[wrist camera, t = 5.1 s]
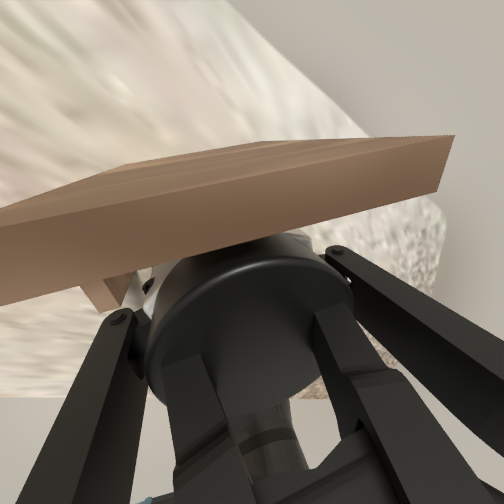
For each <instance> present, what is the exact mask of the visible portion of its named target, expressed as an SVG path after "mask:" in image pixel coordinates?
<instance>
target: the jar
mask: <svg viewBox="0 0 504 504" xmlns="http://www.w3.org/2000/svg"><path fill="white" fill-rule="evenodd" d="M153 277H155V279H154V283H153V285H152V287H151V288H149V289H148V292H147V294H146V297H145V301H144V304H143V311H144V312H145V313H146V314H147V316H148V317H149V318H150V319H151V325H150V330H149V335H148V340H147V346H146V351H145V357H144V369H145V376H146V380H147V382H148V385H149V387H150V389H151V390H152V392H153V394H154V395H155V396H156V397H157V398H158V399H159V401H161V402H162V403H163V404H164V405H166V406H167V404H166V398H165V393H164V387H163V381H162V375H161V369H160V367H163V366H166V365H169V364H172V363H175V362H177V361H180V360H183V359H186V358H189V357H191V356H194V355H197V354H200V355H201V357H202V359H203V362H204V364H205V366H206V368H207V371H208V373H209V375H210V378H211V380H212V382H213V384H214V387H215V389H216V391H217V394H218V396H219V399H220V401H221V404H222V406H223V409H224V411H225V414H226V416H227V418H230V417H237V416H242V415H246V414H251V413H254V412H257V411H260V410H263V409H266V408H269V407H271V406H274V405H276V404H278V403H280V402H282V401H284V400H286V399H288V398H290V397H292V396H293V395H295V394H297V393H298V392H300V391H301V390H303V389H304V388H306V387H307V386H309V385H310V384H311V383H313V382H314V381H315V380H316V379H317V378H319V377H320V376H321V373H320V370H319V367H318V364H317V362H316V359H315V356H314V313H315V312H318V311H321V310H323V309H326V308H329V307H332V306H335V305H337V304H340V303H343V302H344V303H345V305H346V306H347V308H348V309H349V311H350V312H351V314H352V315H353V317H354V318H355V314H356V307H355V300H354V296H353V292H352V290H351V288H350V286H349V284H348V283H347V281H346V280H345V279H344V277H343V276H342V275H341V274H340V273H339V272H338V271H336V270H335V269H334V268H333V267H331V266H330V265H329V264H328V263H326V262H325V261H324V260H323V259H322V258H320V257H319V256H318V255H317V254H315V253H314V252H313V249H312V242H311V238H310V236H309V235H307V234H306V233H304V232H303V231H302V230H300V229H299V228H297V229H293V230H289V231H285V232H281V233H278V234H274V235H270V236H266V237H262V238H259V239H255V240H251V241H247V242H243V243H240V244H236V245H232V246H228V247H224V248H221V249H217V250H213V251H209V252H205V253H202V254H198V255H194V256H190V257H186V258H183V259H179V260H175V261H171V262H167V263H164V264H160V265H156V266H153V270H152V274H151V278H153ZM151 278H150V279H151ZM151 315H152V316H151Z"/></svg>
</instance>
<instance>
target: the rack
mask: <svg viewBox="0 0 504 504" xmlns="http://www.w3.org/2000/svg"><path fill="white" fill-rule="evenodd" d="M454 137H455V135H443V136H413V137H384V138H351V139H320V140H290V141H261V142H255V143H249V144H243V145H237V146H231V147H225V148H220V149H214V150H208V151H202V152H196V153H190V154H184V155H179V156H173V157H167V158H161V159H155V160H149V161H143V162H138V163H132V164H126V165H122V166H120V167H117V168H114V169H111V170H108V171H105V172H102V173H100V174H97V175H94V176H91V177H88V178H85V179H83V180H80V181H77V182H74V183H71V184H68V185H65V186H63V187H60V188H57V189H54V190H51V191H48V192H45V193H43V194H40V195H37V196H34V197H31V198H28V199H25V200H23V201H20V202H17V203H14V204H11V205H8V206H5V207H3V208H0V306H4V305H8V304H12V303H15V302H19V301H23V300H27V299H31V298H34V297H38V296H42V295H46V294H50V293H53V292H57V291H61V290H65V289H69V288H72V287H76V286H80V287H81V289H82V290H83V291H84V293H85V294H86V295H87V297H88V298H89V299H90V301H91V302H92V303H93V305H94V306H95V307H96V309H97V310H98V311H99V313H102V312H106V311H109V310H113V309H116V308H120V307H121V305H122V302H123V299H124V297H125V294H126V292H127V289H128V287H129V284H130V281H131V279H132V276H133V274H134V271H137V270H141V269H145V268H148V267H152V266H156V265H160V264H164V263H167V262H171V261H175V260H179V259H183V258H186V257H190V256H194V255H198V254H202V253H205V252H209V251H213V250H217V249H221V248H224V247H228V246H232V245H236V244H240V243H243V242H247V241H251V240H255V239H259V238H262V237H266V236H270V235H274V234H278V233H281V232H285V231H289V230H293V229H297V228H300V227H304V226H308V225H312V224H316V223H320V222H323V221H327V220H331V219H335V218H339V217H342V216H346V215H350V214H354V213H358V212H361V211H365V210H369V209H373V208H377V207H380V206H384V205H388V204H392V203H396V202H399V201H403V200H407V199H411V198H415V197H418V196H422V195H426V194H429V193H434V192H437V189H438V186H439V183H440V179H441V176H442V174H443V171H444V167H445V164H446V161H447V158H448V155H449V152H450V149H451V146H452V143H453V140H454Z"/></svg>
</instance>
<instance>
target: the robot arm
mask: <svg viewBox="0 0 504 504" xmlns="http://www.w3.org/2000/svg"><path fill="white" fill-rule="evenodd" d="M318 256H319V257H320V258H322V259H323V260H324V261H325V262H326V263H328V264H329V265H330V266H331V267H333V268H334V269H335V270H336V271H338V272H339V273H340V274H341V275H342V276H343V277H344V279H345V280H346V281H347V283H348V284H349V286H350V288H351V290H352V292H353V296H354V300H355V307H356V314H355V318H354V317H353V315H352V314H351V312H350V311H349V309H348V308H347V306H346V305H345V303H344V302H343V303H340V304H337V305H335V306H332V307H329V308H326V309H323V310H321V311H318V312H315V313H314V356H315V359H316V362H317V364H318V367H319V370H320V373H321V375H322V378H323V381H324V384H325V387H326V389H327V392H328V395H329V398H330V400H331V403H332V406H333V409H334V412H335V415H336V418H337V423H338V429H339V433H340V437H341V441H340V442H339V444H338V445H337V446H336V447H335V448H334V449H333V451H332V452H331V453H330V454H329V455H328V456H327V457H326V458H325V459H324V461H323V462H322V463H321V464H320V465H319V466H318V467H317V468H315V469H309V467H308V465H307V462H306V459H305V457H304V454H303V452H302V449H301V447H300V444H299V442H298V439H297V437H296V434H295V431H294V429H293V425H292V419H291V412H290V403H289V398H288V399H286V400H284V401H282V402H280V403H278V404H276V405H274V406H271V407H269V408H266V409H263V410H260V411H257V412H254V413H251V414H246V415H242V416H237V417H230V418H227V416H226V414H225V411H224V409H223V406H222V404H221V401H220V399H219V396H218V394H217V391H216V389H215V387H214V384H213V382H212V380H211V378H210V375H209V373H208V371H207V368H206V366H205V364H204V362H203V359H202V357H201V355H200V354H197V355H194V356H191V357H189V358H186V359H183V360H180V361H177V362H175V363H172V364H169V365H166V366H163V367H160V369H161V375H162V381H163V387H164V393H165V398H166V404H167V410H168V416H169V422H170V428H171V434H172V440H173V446H174V451H175V458H176V466H175V468H174V471H173V486H174V492H172V493H169V494H165V495H162V496H158V497H155V498H152V497H148V498H146V499H145V501H143V502H140V503H137V504H504V493H502V492H501V491H499V490H497V489H496V488H494V487H492V486H490V485H489V484H487V483H485V482H484V481H482V480H480V479H479V478H478V477H477V476H476V474H475V473H474V472H473V470H472V469H471V467H470V466H469V465H468V464H467V462H466V461H465V459H464V458H463V456H462V455H461V453H460V452H459V451H458V449H457V448H456V447H455V445H454V444H453V442H452V441H451V440H450V438H449V437H448V435H447V434H446V432H445V431H444V430H443V428H442V427H441V425H440V424H439V423H438V421H437V420H436V418H435V417H434V416H433V414H432V413H431V411H430V410H429V409H428V407H427V406H426V405H425V403H424V402H423V400H422V399H421V398H420V396H419V395H418V393H417V392H416V391H415V389H414V388H413V386H412V385H411V383H410V382H409V381H408V380H407V378H406V377H405V376H404V375H403V374H402V373H401V372H400V371H398V370H397V369H392V368H389V367H387V366H386V364H385V363H384V362H383V360H382V359H381V357H380V356H379V354H378V353H377V351H376V350H375V348H374V347H373V345H372V344H371V342H370V341H369V339H368V338H367V336H366V335H365V333H364V332H363V330H362V329H361V327H360V326H359V324H358V323H357V321H358V322H359V323H360V324H361V325H362V326H363V327H364V328H365V329H366V330H367V331H368V332H369V333H370V334H371V335H372V336H373V337H374V338H375V339H376V340H377V341H378V342H379V343H380V344H381V345H383V346H384V347H385V348H386V349H387V350H388V351H389V352H390V353H391V354H392V355H393V356H394V357H395V358H396V359H397V360H398V361H399V362H400V363H401V364H402V365H403V366H404V367H405V368H406V369H407V370H408V371H409V372H410V373H411V374H412V375H413V376H414V377H415V378H416V379H417V380H419V382H421V384H423V385H424V386H425V387H426V388H427V389H428V390H429V391H430V392H431V393H432V394H433V395H434V396H435V397H436V398H437V399H438V400H439V401H440V402H441V403H442V404H443V405H444V406H445V407H446V408H447V409H448V410H449V411H450V412H451V413H452V414H453V415H454V416H455V417H457V418H458V419H459V420H460V421H461V422H462V423H463V424H464V425H465V426H466V427H468V428H469V429H470V430H471V431H472V432H473V433H474V434H475V435H476V436H478V437H479V438H480V439H481V440H482V441H484V442H485V443H486V444H487V445H488V446H490V447H491V448H492V449H494V450H495V451H496V452H497V453H499V454H500V455H501V456H502V457H504V341H503V340H501V339H499V338H497V337H496V336H494V335H493V334H491V333H489V332H488V331H486V330H484V329H482V328H481V327H479V326H477V325H476V324H474V323H472V322H471V321H469V320H467V319H466V318H464V317H462V316H460V315H459V314H457V313H456V312H454V311H452V310H451V309H449V308H447V307H445V306H444V305H442V304H441V303H439V302H437V301H435V300H434V299H432V298H431V297H429V296H427V295H425V294H424V293H422V292H420V291H419V290H417V289H415V288H414V287H412V286H410V285H409V284H407V283H405V282H404V281H402V280H400V279H399V278H397V277H395V276H394V275H392V274H390V273H389V272H387V271H385V270H384V269H382V268H380V267H378V266H377V265H375V264H373V263H372V262H370V261H368V260H367V259H365V258H363V257H362V256H360V255H358V254H357V253H355V252H353V251H352V250H350V249H348V248H346V247H344V246H340V245H337V246H336V245H334V246H330V247H328V248H326V250H325V254H322V255H318ZM347 277H348V278H349V279H350V280H351V282H349V281H348V280H347ZM154 279H155V277H153V278H151V279H149V280H148V281H147V282H145V284H144V285H143V287H142V289H143V291H144V293H145V295H146V294H147V292H148V289H149V288H151V287H152V285H153V283H154ZM151 316H152V315H151ZM355 319H356V320H357V321H356V320H355ZM150 325H151V319H150V318H149V317H148V316H147V314H146V313H145V312H144V311H143V308H141V309H139V310H137V311H135V312H133V311H132V310H131V309H130V308H123V309H119V310H117V311H115V312H113V313H111V314H110V315H109V316H108V317H106V318H105V319H104V321H103V322H102V324H101V326H100V328H99V330H98V332H97V334H96V336H95V339H94V341H93V343H92V345H91V347H90V349H89V351H88V353H87V355H86V357H85V359H84V362H83V364H82V366H81V368H80V370H79V372H78V374H77V376H76V378H75V380H74V382H73V384H72V387H71V389H70V391H69V393H68V395H67V397H66V399H65V401H64V403H63V406H62V407H61V410H60V412H59V414H58V416H57V418H56V420H55V422H54V424H53V426H52V429H51V430H50V433H49V435H48V437H47V439H46V441H45V443H44V445H43V447H42V449H41V451H40V453H39V455H38V458H37V460H36V462H35V464H34V466H33V468H32V470H31V472H30V474H29V476H28V478H27V481H26V483H25V485H24V487H23V489H22V491H21V493H20V495H19V497H18V500H17V502H16V503H15V504H129V503H130V497H131V491H132V485H133V478H134V472H135V466H136V459H137V453H138V447H139V440H140V434H141V428H142V421H143V415H144V409H145V402H146V396H147V390H148V382H147V380H146V376H145V369H144V357H145V351H146V346H147V340H148V335H149V330H150Z"/></svg>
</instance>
